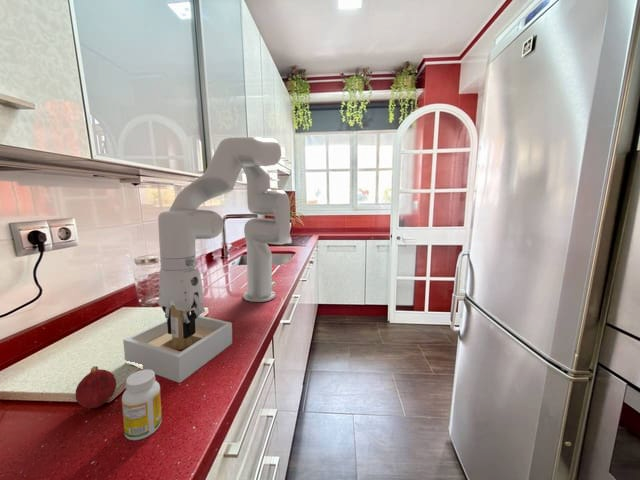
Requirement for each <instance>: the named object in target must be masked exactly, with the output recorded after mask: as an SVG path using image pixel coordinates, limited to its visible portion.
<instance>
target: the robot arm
mask: <svg viewBox="0 0 640 480" xmlns="http://www.w3.org/2000/svg"><path fill="white" fill-rule="evenodd" d="M279 143H280V142H278V141H277V140H276V139H274V138H264V137H263V138H262V137H256V136H255V137H254V136H253V137H252V136H248V137H245V136H244V137H242V136H241V137H236V136H235V137H227V138H224V139H222V140H221V141H220V142H219V144H218V146H217V147H216V150H215V151H214V154H213V156H212V157H211V160H210V162H209V164H208V166H207V168H206V170H205V172H204V173H203V174H202V175H201V176H199V177H197V178H196V179H194V180H193V181H192V182H191V183H190V184H188V185H187V186H185V187H184V188H183V189H182V190H181V191H180V192H179V193H178V194H177V196H176V197H175V199H174V200H173V203H172V205H170V208H169V210H167V211H163V212H161V213H159V214H158V217H157V221H158V223H157V225H158V240H159V242H158V243H159V258H160V269H159V276H158V301H157V304H158V305H159V307H160V308H161V309H162V311H163V313H164V317H165V318H166V320H167V326H168V334H172V333H171V309H170V308H171V306H172V305H171V304H170V301H171V300H172V301H173V302H174V304H175V305H173V306H175V309H176V310H180V311H183V316H184V321H185V323H183V337H184V338H185V339H186V338H188V337H190V336H192V335H193V334H195V319H197V317H198V316H199V315H202V314H203V313H205V311H206V309H205V307H204V290H203V283H202V282H203V281H202V276H201V272H200V269H199V268H198V267H197V266H198V261H197V256H196V255H197V254H196V252H197V251H196V250H197V249H196V240H210V239H215V238H216V237H218V236H220V234H221V233H222V232H223V230H224V219H223V218H222V216H221V215H220V214H219V213H217V212H216V211H213V210H209V209H198V208H199V207H200V206H201V205H203V204H204V203H206V202H207V201H209V200H212V199H214V198H217V197H220V196H223V195H225V194H228V193H229V192H231V191H232V190H233V189H234V187H235V184H236V183H237V179H238V178H239V175H240V173H241V171H242V170H243V172H244V175H245V177H246V196H247V199H246V201H247V208H248V211H249V213H251V214H253V215H257V216H258V215H259V216H272V217H273V216H274V217H273V218H265V217H264V218H263V217H262V218H261V217H254V218H250V219H248V220H247V221H246V222H245V224H244V227H243V228H244V229H243V231H244V237H245V243H246V257H247V258H246V265H247V266H246V271H247V272H246V274H247V275H246V276H247V277H246V281H247V283H246V284H247V285H246V288H247V289H246V290H247V291H245V292H244V293H243V294H242V298H243V299H244V300H246V301H247V302H250V303H264V302H265V303H266V302H269V301H271V300H273V299H274V298H275V297H276V292H275V291H274V290H273V287H275V286H276V285H277V283H276V281H273V280H272V279H273V278H272V277H273V276H272V275H273V274H272V272H273V271H272V270H273V269H272V268H273V267H272V266H273V265H272V264H273V254H272V250H271V248H270V246H269V245H270V244H271V245H284V244H287V243H288V242H289V240H290V235H291V204H290V201H291V200H290V197H289V195H288V193H286V192H285V191H283V190H280V189H279V190H278V189H271V177H270V174H269V172H268V170H267V168H266V167H271V166H275V165H277V164H278V163H279V161H280V160H281V157H282V149H281V145H280V144H279ZM188 312H190V313H191V315H190V316H189V313H188Z"/></svg>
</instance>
